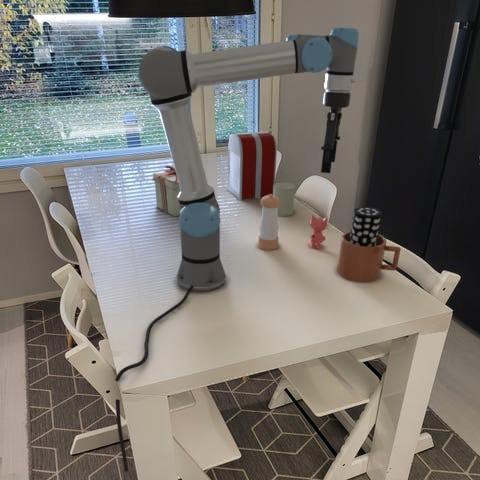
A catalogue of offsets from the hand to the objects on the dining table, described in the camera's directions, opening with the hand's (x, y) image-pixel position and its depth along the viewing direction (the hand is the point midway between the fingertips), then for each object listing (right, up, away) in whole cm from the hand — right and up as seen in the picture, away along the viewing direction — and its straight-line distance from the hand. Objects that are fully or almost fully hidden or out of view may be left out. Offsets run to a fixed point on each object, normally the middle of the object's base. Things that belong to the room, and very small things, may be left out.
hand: (327, 167), depth 148 cm
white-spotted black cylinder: (+12, -31, +11) cm, 35 cm away
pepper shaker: (-17, -20, +29) cm, 39 cm away
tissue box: (-22, +13, +81) cm, 85 cm away
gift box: (-54, 0, +60) cm, 80 cm away
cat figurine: (+1, -20, +29) cm, 35 cm away
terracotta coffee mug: (+14, -32, +11) cm, 36 cm away
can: (-9, -1, +59) cm, 60 cm away
